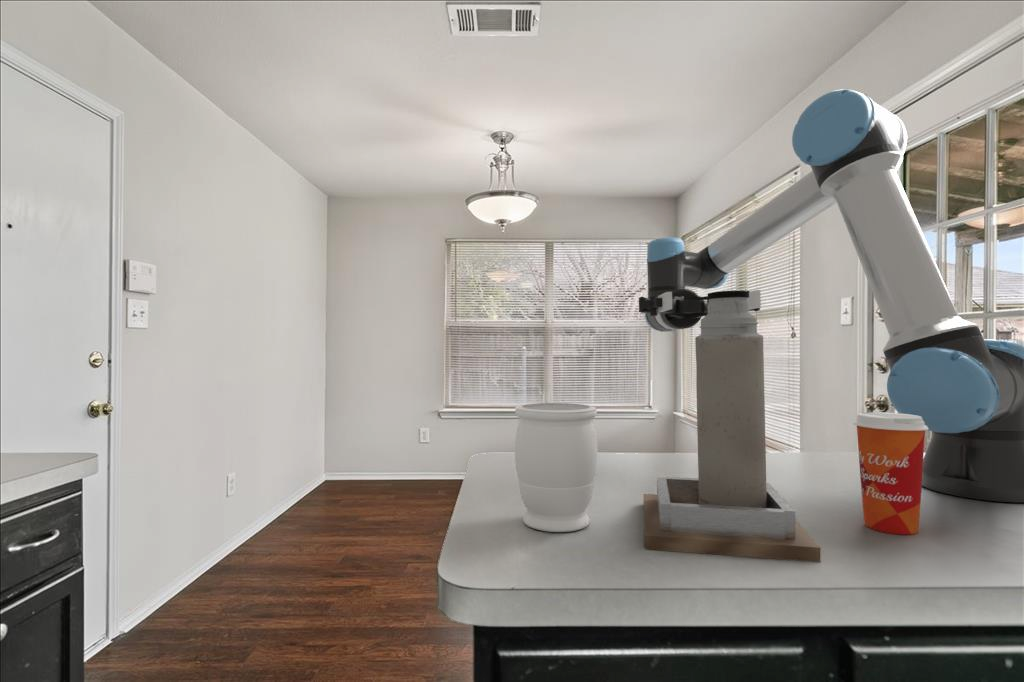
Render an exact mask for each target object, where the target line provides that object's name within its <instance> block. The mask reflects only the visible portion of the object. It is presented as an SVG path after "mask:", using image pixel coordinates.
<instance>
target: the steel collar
mask: <svg viewBox="0 0 1024 682" xmlns="http://www.w3.org/2000/svg"><path fill="white" fill-rule="evenodd" d="M766 489H767V508H754V507H736V506H718V505H701V504H683V503H670V501H680V502H697V503H699V480H698V477H678V476H677V477H676V476H665V477H660V476H659V477H658V476H657V477H656V495H657V504H658V514H659V523H660V530H671V532H678V533H693V534H708V535H722V536H737V537H752V538H766V539H781V540H785V538H792V539H796V521H797V519H796V510H795V509H794V507H793V508H792V506H791V505H790V504H789V503H788V502H787V501H786V499H784V497H783V496H782V495H781V494H780V493H779V492H778V491H777V490H776V488H774V487H773V485H772V484H771V483H770V482H766Z"/></svg>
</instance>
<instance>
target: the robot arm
mask: <svg viewBox="0 0 1024 682" xmlns="http://www.w3.org/2000/svg"><path fill="white" fill-rule="evenodd" d="M791 138H792V140H791V143H792V149H793V152H794V153H795V155H796V156H797V158H799V160H800V161H801V162H802V163H804V164H806V165H809V166H810V168H811V171H810V172H808V173H807V174H806V175H804V176H803V177H801V178H799V180H797V181H796V182H795V183H793V184H791V185H790V186H789V187H787V188H786V189H785V190H783V191H782V192H781V193H779V194H777V195H776V196H775V197H774V198H772V199H771V200H769V201H768V202H767V203H766V204H764V205H763V206H762V207H760V208H759V209H757V210H756V211H755V212H753V213H752V214H750V215H748V216H747V217H746V218H745V219H743V220H742V221H740V222H739V223H738V224H736V225H735V226H734V227H732V228H731V229H730V230H728V231H727V232H725V233H724V234H723V235H721V236H720V237H717V239H716V240H714V241H713V242H711V243H710V244H709V245H707V246H706V247H704V248H703V249H701V250H700V251H699V252H693V251H687V250H686V248H685V244H684V240H683V239H681V238H679V237H660V238H656V239H652V240H651V241H650V242H649V243H648V245H647V258H646V262H647V263H646V264H647V265H646V266H647V291H648V292H647V297H645V296H640V297H638V312H639V313H641V314H644V318H645V321H646V323H647V325H648V326H649V327H650V328H651V329H653V330H655V331H657V332H658V331H659V332H661V333H662V332H672V333H674V334H676V333H678V331H679V330H684V329H689V328H690V329H691V328H692V327H694V326H696V325H697V324H698V323H699V322H700V321H701V319H702V318H703V317H705V316H706V315H707V314H708V303H709V299H708V295H707V296H706V295H705V296H701V295H698V293H696V292H695V291H694V290H691V289H689V288H686V287H690V288H697V289H702V290H708V289H716V288H718V287H720V286H722V285H723V284H724V283H725V282H726V281H727V279H728V277H729V273H731V272H733V271H734V270H735V269H737V268H739V267H740V266H742V265H743V264H744V263H746V262H748V261H750V260H752V259H753V258H754V257H755V256H757V255H759V253H762V252H763V251H765V250H766V249H767V248H768V249H769V247H771V246H773V244H775V243H777V242H778V241H780V240H781V239H783V238H784V237H786V236H788V235H789V234H791V233H792V232H794V231H796V230H797V229H798V228H800V227H801V226H803V225H805V224H806V223H808V222H809V221H811V220H813V218H815V217H817V216H818V215H820V214H821V213H823V212H824V211H827V210H828V209H829V208H831V207H833V206H835V204H837V207H838V210H839V211H840V214H841V216H842V217H841V218H843V222H844V224H845V227H846V229H847V231H848V234H849V236H850V238H851V239H850V240H851V241H852V244H853V246H854V249H855V252H856V254H857V256H858V259H859V261H860V265H861V266H862V270H863V272H864V274H865V277H866V279H867V282H868V284H869V287H870V290H871V292H872V294H873V297H874V299H875V301H876V304H877V307H878V310H879V313H880V315H881V317H882V320H883V323H884V325H885V327H886V330H887V332H888V335H889V338H888V341H887V342H886V344H885V346H884V347H883V349H882V352H883V355H884V358H885V360H886V362H887V365H888V367H889V371H890V372H889V374H888V376H887V382H886V389H887V396H888V399H889V401H890V403H891V405H892V406H893V408H894V410H895V411H896V413H901V414H911V415H918V416H921V417H922V419H923V421H924V422H925V425H926V426H927V427H928V430H927V431H929V432H931V438H930V441H929V443H928V446H927V448H926V451H925V453H924V455H923V471H922V487H925V488H926V489H929V490H933V491H935V492H938V493H942V494H946V495H950V496H951V495H952V496H956V497H957V496H958V497H961V498H968V499H975V500H983V501H990V502H999V503H1000V502H1002V503H1003V502H1005V503H1024V346H1023V344H1021V343H1018V342H1016V341H1009V340H998V339H989V338H988V339H987V338H984V336H983V334H982V332H981V330H980V327H979V326H978V325H979V324H977V323H973V322H970V321H968V320H966V319H963V318H961V317H960V316H959V314H958V311H957V309H956V306H955V305H954V302H953V300H952V297H951V295H950V293H949V291H948V289H947V286H946V284H945V282H944V280H943V277H942V275H941V272H940V270H939V267H938V265H937V263H936V261H935V258H934V256H933V253H932V251H931V248H930V247H929V244H928V242H927V240H926V238H925V235H924V233H923V230H922V229H921V227H920V223H919V222H918V219H917V217H916V215H915V213H914V210H913V208H912V206H911V203H910V201H909V199H908V197H907V194H906V192H905V190H904V187H903V185H902V182H901V180H900V178H899V176H898V173H897V171H898V170H899V169H900V166H901V165H902V163H903V160H904V154H905V152H906V148H907V145H908V133H907V130H906V127H905V124H904V122H903V121H902V120H901V118H899V117H898V116H897V114H895V113H894V112H891V111H889V110H888V109H886V108H885V107H882V106H881V105H879V104H877V103H876V102H875V101H873V99H872V98H871V97H870V96H869V95H867V94H866V93H863V92H858V91H856V90H853V89H848V88H847V89H843V88H841V89H836V90H833V91H829V92H827V93H824V94H823V95H821V96H819V97H818V98H816V99H814V101H812V102H811V103H810V104H809V105H808V106H807V107H806V108H805V109H804V111H802V113H801V114H800V116H799V118H798V120H797V122H796V124H795V126H794V128H793V132H792V136H791ZM747 291H748V292H749V297H748V298H747V301H748V303H749V312H758V311H760V310H761V289H754V290H747Z"/></svg>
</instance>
